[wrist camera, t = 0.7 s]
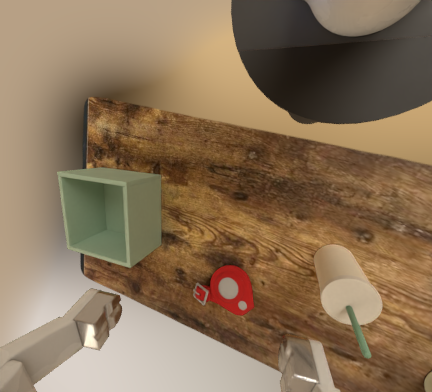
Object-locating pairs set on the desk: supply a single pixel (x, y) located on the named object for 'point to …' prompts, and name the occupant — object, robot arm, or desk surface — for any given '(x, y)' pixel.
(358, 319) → the paper cup
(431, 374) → the can
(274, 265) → the desk surface
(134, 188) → the bin
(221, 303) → the red flat rounded piece
